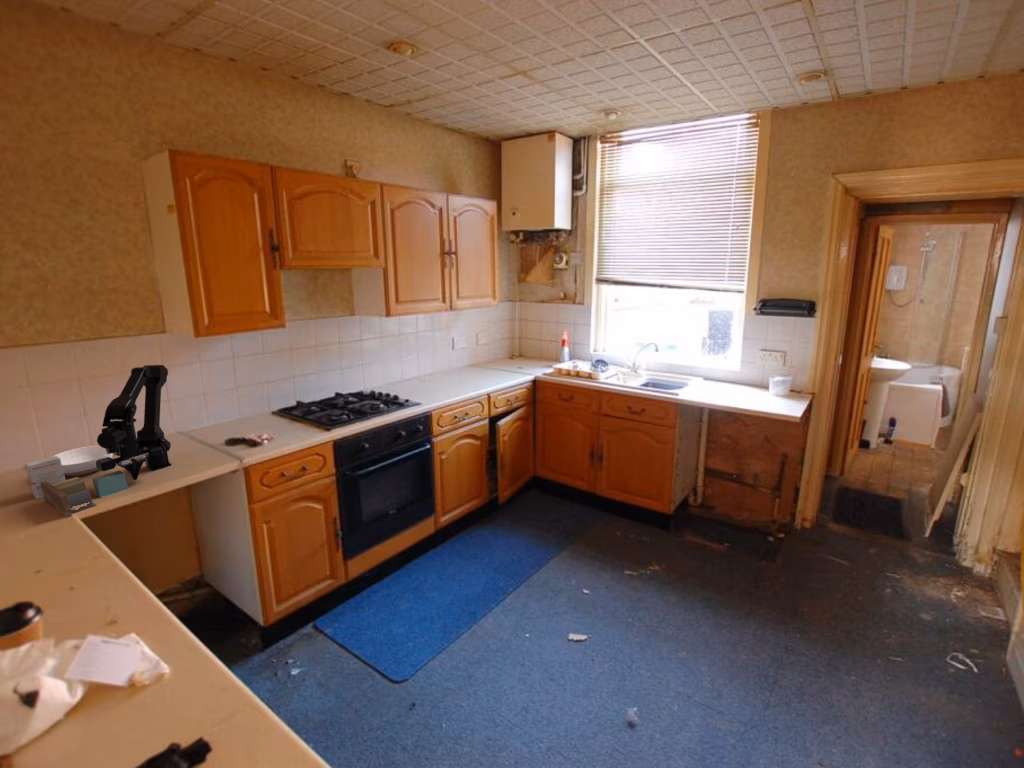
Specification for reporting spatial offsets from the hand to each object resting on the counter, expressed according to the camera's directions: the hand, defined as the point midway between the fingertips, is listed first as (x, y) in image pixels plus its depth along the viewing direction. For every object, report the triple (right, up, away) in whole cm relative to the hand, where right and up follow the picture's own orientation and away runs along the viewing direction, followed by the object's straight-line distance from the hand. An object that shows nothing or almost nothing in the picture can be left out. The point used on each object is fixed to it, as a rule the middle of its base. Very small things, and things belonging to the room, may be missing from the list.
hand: (135, 479), depth 189 cm
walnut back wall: (-13, -6, -17) cm, 22 cm away
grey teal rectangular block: (-4, -3, -5) cm, 7 cm away
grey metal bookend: (-6, -6, -17) cm, 19 cm away
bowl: (-28, +1, +13) cm, 31 cm away
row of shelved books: (-15, -4, -10) cm, 18 cm away
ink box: (-25, -4, -6) cm, 26 cm away
